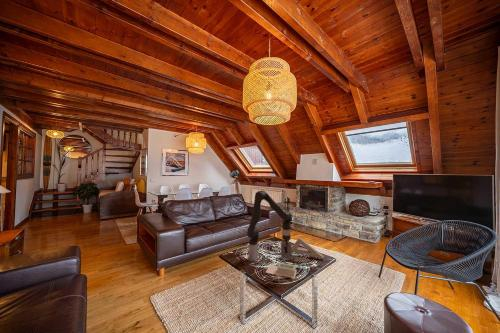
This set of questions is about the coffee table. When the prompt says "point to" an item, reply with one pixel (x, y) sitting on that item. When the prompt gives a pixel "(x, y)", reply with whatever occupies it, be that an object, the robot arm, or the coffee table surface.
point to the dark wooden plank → (289, 250)
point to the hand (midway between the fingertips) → (286, 252)
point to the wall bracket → (309, 248)
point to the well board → (283, 270)
